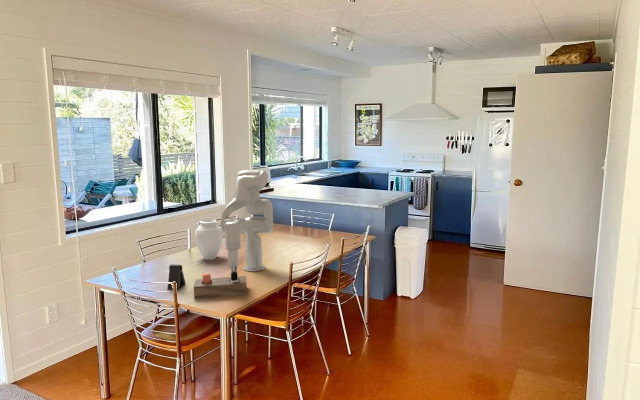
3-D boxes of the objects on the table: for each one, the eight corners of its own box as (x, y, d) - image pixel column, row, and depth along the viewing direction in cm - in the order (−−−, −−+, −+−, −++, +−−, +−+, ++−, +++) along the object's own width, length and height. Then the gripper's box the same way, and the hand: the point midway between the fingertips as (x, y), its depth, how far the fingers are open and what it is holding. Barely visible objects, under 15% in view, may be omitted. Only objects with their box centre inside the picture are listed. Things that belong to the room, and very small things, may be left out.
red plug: (203, 284, 239) (202, 273, 239) (211, 283, 240) (210, 273, 239) (202, 286, 236) (202, 276, 235) (210, 286, 236) (210, 275, 235)
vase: (217, 262, 292) (215, 223, 288) (190, 261, 296) (188, 223, 292) (228, 255, 309) (226, 218, 305) (203, 253, 313) (201, 217, 309)
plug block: (196, 290, 243) (195, 279, 242) (246, 286, 248) (246, 276, 247) (194, 298, 232) (193, 286, 231) (246, 294, 236) (246, 283, 235)
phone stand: (178, 289, 245) (176, 267, 243) (167, 289, 246) (166, 267, 244) (185, 284, 253) (184, 262, 251) (175, 283, 254) (174, 262, 252)
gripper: (226, 242, 243) (227, 276, 246) (225, 249, 229) (226, 285, 232) (240, 241, 245) (241, 275, 247) (240, 248, 230) (241, 284, 233)
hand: (234, 280), depth 240 cm, fingers closed
